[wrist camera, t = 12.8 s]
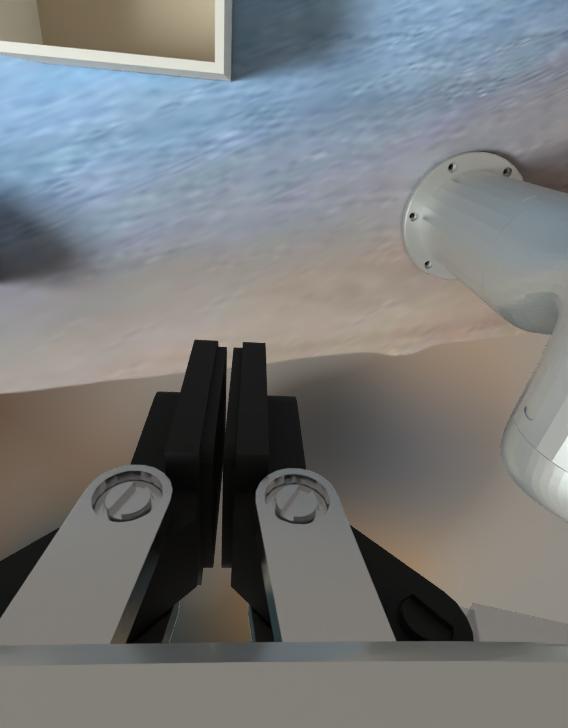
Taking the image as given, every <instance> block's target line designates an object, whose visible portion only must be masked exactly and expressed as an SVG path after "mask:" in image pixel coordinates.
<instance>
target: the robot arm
mask: <svg viewBox="0 0 568 728" xmlns="http://www.w3.org/2000/svg"><path fill="white" fill-rule="evenodd" d="M450 164H451V165H452V167H451V168H450V169H448V167H449V165H450ZM504 169H505V172H504V173H503V171H504ZM411 213H413V216H412V217H409V216H410V214H411ZM402 235H403V241H404V244H405V247H406V250H407V252H408V254H409V256H410V257H411V259H412V260H413V261H414V262H415V263H416V265H417V266H418V267H420V268H421V269H422V270H423V271H424V272H426V273H428V274H430V275H432V276H434V277H437V278H441V279H447V280H459V281H460V282H461V283H462V284H463V285H465V286H466V287H467V288H468V289H469V290H470V291H472V292H473V293H474V294H475V295H476V296H477V297H479V298H480V299H481V300H482V301H483V302H484V303H486V304H487V305H488V306H489V307H490V308H492V309H493V310H494V311H495V312H497V313H498V314H499V315H500V316H501V317H502V318H504V319H505V320H506V321H508V322H509V323H511V324H512V325H514V326H516V327H518V328H520V329H523V330H526V331H529V332H534V333H540V334H550V335H551V336H550V339H549V341H548V342H547V344H546V346H545V348H544V350H543V353H542V356H541V358H540V360H539V362H538V364H537V366H536V368H535V370H534V372H533V374H532V376H531V377H530V379H529V381H528V383H527V385H526V387H525V389H524V391H523V393H522V395H521V396H520V398H519V400H518V402H517V404H516V406H515V408H514V410H513V412H512V414H511V416H510V418H509V420H508V423H507V425H506V427H505V429H504V432H503V435H502V439H501V457H502V461H503V464H504V466H505V468H506V470H507V472H508V474H509V475H510V477H511V478H512V479H513V481H514V482H515V483H516V484H517V485H518V486H519V487H520V488H521V489H522V490H523V491H524V492H525V493H526V494H527V495H528V496H529V497H530V498H532V499H533V500H534V501H535V502H537V503H538V504H539V505H541V506H542V507H544V508H545V509H547V510H548V511H549V512H551V513H552V514H554V515H556V516H557V517H559V518H560V519H562V520H563V521H565V522H567V523H568V193H565V192H561V191H557V190H554V189H550V188H546V187H543V186H539V185H535V184H532V183H528V182H524V180H523V177H522V175H521V174H520V172H519V171H518V170H517V168H516V167H515V166H514V165H513V164H511V163H510V162H509V161H508V160H507V159H505V158H502V157H500V156H498V155H496V154H492V153H487V152H477V151H473V152H465V153H461V154H458V155H455V156H452V157H449V158H447V159H446V160H444V161H442V162H440V163H438V164H437V165H436V166H434V167H433V168H432V169H431V170H429V171H428V172H427V173H426V174H425V175H424V176H423V178H422V179H421V180H420V181H419V182H418V183H417V185H416V187H415V188H414V190H413V191H412V193H411V195H410V197H409V199H408V201H407V204H406V206H405V210H404V214H403V220H402ZM427 261H428V263H427V264H425V262H427ZM226 367H227V347H218V341H210V340H195V341H194V344H193V348H192V351H191V355H190V359H189V362H188V366H187V370H186V374H185V378H184V381H183V385H182V389H181V392H157V393H156V395H155V397H154V400H153V403H152V406H151V408H150V411H149V414H148V417H147V420H146V422H145V425H144V428H143V431H142V434H141V437H140V439H139V442H138V445H137V448H136V451H135V453H134V456H133V459H132V462H131V465H127V466H122V467H117V468H115V469H112V470H110V471H107V472H105V473H103V474H102V475H100V476H99V477H98V478H96V479H95V480H93V482H92V483H91V484H90V485H89V486H88V487H87V488H86V490H85V491H84V493H83V494H82V496H81V497H80V499H79V500H78V502H77V503H76V505H75V506H74V508H73V509H72V511H71V512H70V514H69V515H68V517H67V518H66V520H65V522H64V523H63V525H62V526H61V527H60V528H58V529H56V530H54V531H53V532H51V533H49V534H48V535H46V536H44V537H42V538H40V539H39V540H37V541H35V542H33V543H31V544H30V545H28V546H27V547H24V548H23V549H21V550H19V551H18V552H16V553H14V554H12V555H10V556H9V557H7V558H5V559H3V560H2V561H0V728H568V624H565V623H561V622H556V621H551V620H547V619H543V618H538V617H534V616H529V615H524V614H520V613H516V612H511V611H507V610H502V609H498V608H493V607H489V606H484V605H480V604H475V603H472V606H471V607H470V609H468V608H463V607H459V606H458V604H457V603H456V602H455V601H454V600H453V599H452V598H450V597H449V596H448V595H447V594H446V593H445V592H444V591H442V590H441V589H439V588H438V587H437V586H435V585H434V584H432V583H431V582H430V581H428V580H427V579H425V578H424V577H423V576H421V575H420V574H418V573H417V572H416V571H414V570H413V569H411V568H410V567H408V566H407V565H405V564H404V563H403V562H401V561H400V560H399V559H397V558H396V557H394V556H393V555H392V554H390V553H389V552H387V551H386V550H385V549H383V548H382V547H380V546H379V545H378V544H376V543H375V542H373V541H372V540H370V539H369V538H368V537H366V536H365V535H363V534H362V533H361V532H359V531H358V530H356V529H355V528H353V527H352V526H351V525H349V523H348V520H347V517H346V515H345V512H344V510H343V508H342V505H341V502H340V500H339V497H338V495H337V493H336V491H335V490H334V488H333V486H332V485H331V484H330V483H329V482H328V481H327V480H326V479H325V478H323V477H322V476H320V475H318V474H316V473H314V472H312V471H308V470H306V465H305V458H304V451H303V443H302V436H301V429H300V421H299V414H298V406H297V400H296V397H292V396H267V377H266V346H265V343H252V342H243V348H234V350H233V360H232V371H231V382H230V391H229V402H228V411H227V422H226V421H225V420H226ZM225 423H226V432H225ZM222 471H223V505H222V508H223V509H222V510H223V511H222V568H232V573H231V587H232V588H233V589H234V590H235V591H236V592H238V594H240V595H241V596H242V597H243V598H244V599H245V600H246V601H247V602H248V617H249V625H250V632H251V639H252V642H245V643H243V642H242V643H169V642H170V638H171V635H172V632H173V629H174V625H175V622H176V619H177V616H178V611H179V604H180V602H179V601H180V600H181V599H182V598H183V597H184V596H185V595H187V594H188V593H189V592H191V591H192V590H193V589H194V588H195V587H196V586H197V585H201V581H202V573H203V568H212V567H213V564H214V554H215V544H216V533H217V523H218V512H219V502H220V491H221V481H222Z"/></svg>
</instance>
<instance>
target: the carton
mask: <svg viewBox="0 0 568 728" xmlns="http://www.w3.org/2000/svg"><path fill="white" fill-rule="evenodd" d="M232 6H233V0H0V54H1V55H5V56H10V57H15V58H20V59H24V60H29V61H34V62H38V63H45V64H55V65H66V66H76V67H86V68H96V69H106V70H117V71H127V72H137V73H147V74H158V75H168V76H178V77H188V78H199V79H209V80H219V81H229V82H231V63H232Z"/></svg>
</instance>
